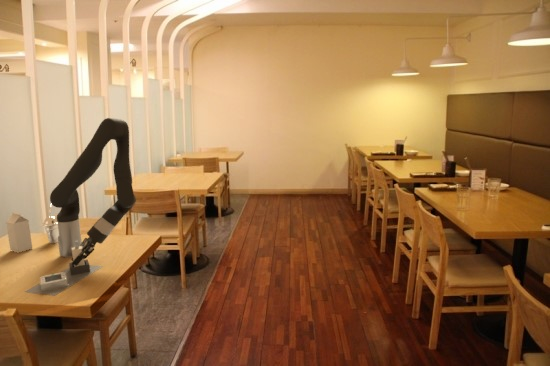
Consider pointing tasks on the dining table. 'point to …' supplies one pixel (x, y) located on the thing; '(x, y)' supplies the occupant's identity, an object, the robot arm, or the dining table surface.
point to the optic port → (53, 281)
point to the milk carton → (18, 233)
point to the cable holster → (79, 268)
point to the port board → (70, 281)
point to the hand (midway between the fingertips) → (73, 262)
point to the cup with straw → (51, 227)
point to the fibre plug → (77, 253)
